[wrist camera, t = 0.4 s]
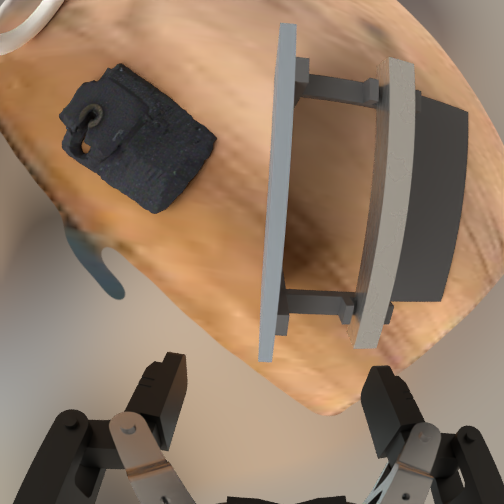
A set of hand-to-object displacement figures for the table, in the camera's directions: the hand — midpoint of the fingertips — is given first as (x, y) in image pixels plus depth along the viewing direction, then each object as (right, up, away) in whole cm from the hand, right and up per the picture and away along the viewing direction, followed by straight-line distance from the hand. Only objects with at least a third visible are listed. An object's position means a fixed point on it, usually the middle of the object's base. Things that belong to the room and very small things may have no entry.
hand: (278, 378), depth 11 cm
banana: (-36, +46, +16) cm, 61 cm away
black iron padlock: (-17, +21, +24) cm, 36 cm away
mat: (+25, +12, +24) cm, 37 cm away
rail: (+10, +9, +13) cm, 19 cm away
